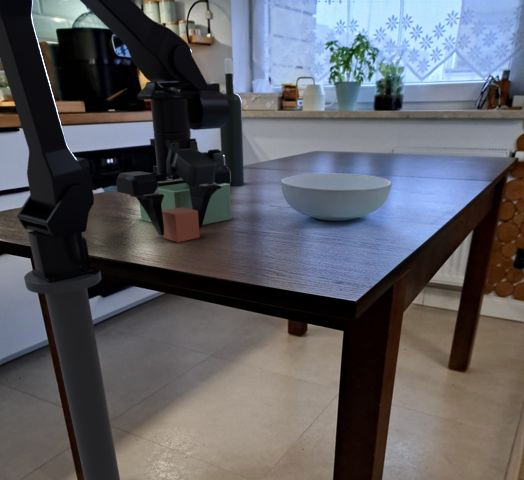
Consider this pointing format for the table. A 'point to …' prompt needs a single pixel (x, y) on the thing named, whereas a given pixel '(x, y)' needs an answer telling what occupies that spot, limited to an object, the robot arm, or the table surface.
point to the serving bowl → (335, 195)
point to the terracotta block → (180, 224)
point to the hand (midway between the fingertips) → (180, 231)
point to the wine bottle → (233, 130)
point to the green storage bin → (181, 198)
